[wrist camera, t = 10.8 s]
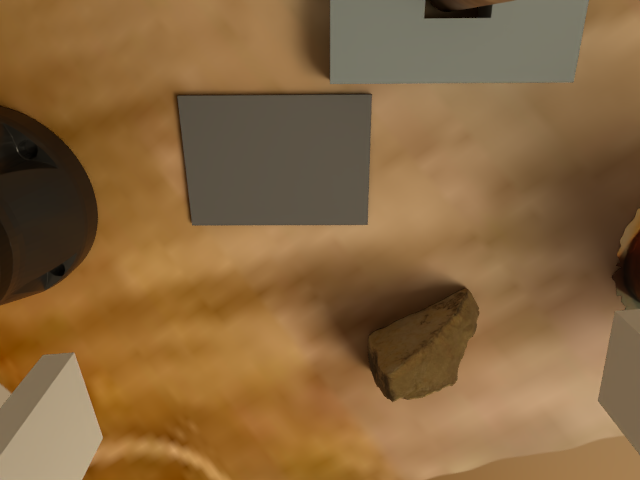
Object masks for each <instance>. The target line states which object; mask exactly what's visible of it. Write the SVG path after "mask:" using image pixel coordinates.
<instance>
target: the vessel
mask: <svg viewBox="0 0 640 480" xmlns="http://www.w3.org/2000/svg"><path fill="white" fill-rule="evenodd" d="M620 244H621V247H620V249H619V251H618V253H617V255H618V258H619V261H620V262H619V263H618V264H617V265H616V266H619V267H621V268H620V269H619V270H617V271H616V272H615V274H614V275H613V276H612V278H613V280H614V281H615V283H616V290H617V296H622V300H621V302H622V303H623V304H624V305H625V306H626V308H625V310H634V309H640V208H639V209H637V212H636V215H635V218H634V219H633V220H632V221H631V222H630V223H629V225H628V226H627V227H626V228H625V231H624V234H623V236H622V238H621V240H620Z"/></svg>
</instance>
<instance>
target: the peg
mask: <svg viewBox="0 0 640 480" xmlns="http://www.w3.org/2000/svg"><path fill="white" fill-rule="evenodd" d="M510 1H515V0H430V2H431V3H432V5H433V6H434V7H435V8H437V9H438V10H441V11H444V12H450V11H456V10H462V9H468V8H474V7H480V6H486V5H492V4H498V3H504V2H510Z"/></svg>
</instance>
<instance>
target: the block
mask: <svg viewBox="0 0 640 480" xmlns="http://www.w3.org/2000/svg"><path fill="white" fill-rule="evenodd" d="M588 2H589V0H515V1H510V2H504V3H498V4H492V5H486V6H480V7H479V10H478V18H430V19H424V12H425V0H330V84H393V83H545V82H574V78H575V72H576V67H577V61H578V56H579V50H580V45H581V40H582V34H583V29H584V23H585V18H586V13H587V7H588Z"/></svg>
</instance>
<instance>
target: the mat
mask: <svg viewBox="0 0 640 480" xmlns="http://www.w3.org/2000/svg"><path fill="white" fill-rule="evenodd" d="M177 98H178V107H179V115H180V124H181V132H182V141H183V150H184V158H185V167H186V176H187V184H188V193H189V202H190V210H191V219H192V225H368V194H369V164H370V133H371V102H372V94H305V95H178V96H177Z"/></svg>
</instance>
